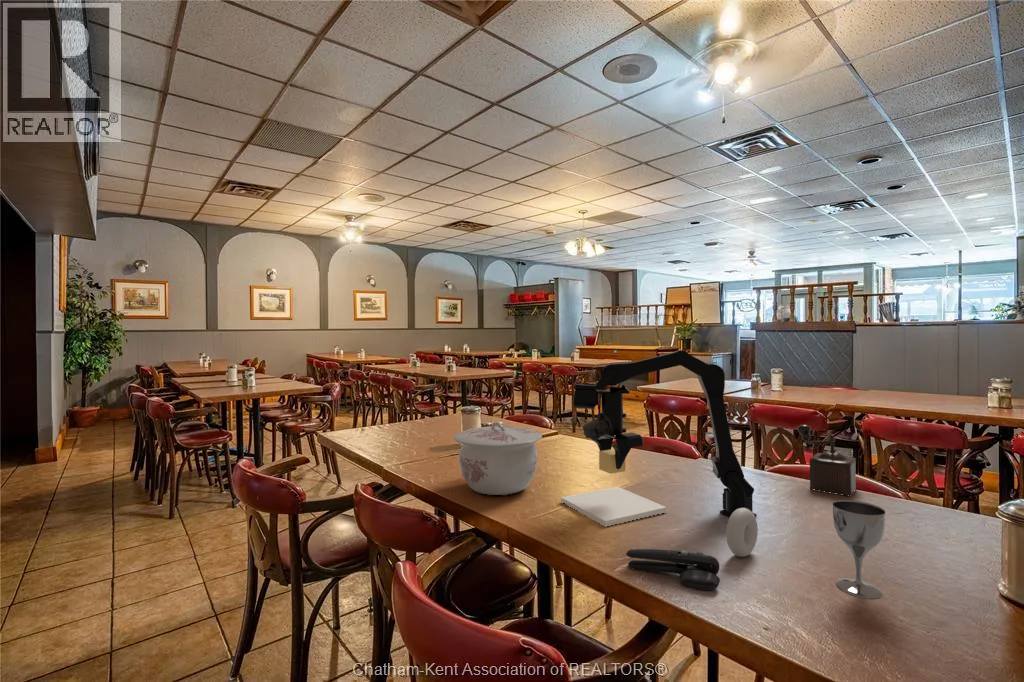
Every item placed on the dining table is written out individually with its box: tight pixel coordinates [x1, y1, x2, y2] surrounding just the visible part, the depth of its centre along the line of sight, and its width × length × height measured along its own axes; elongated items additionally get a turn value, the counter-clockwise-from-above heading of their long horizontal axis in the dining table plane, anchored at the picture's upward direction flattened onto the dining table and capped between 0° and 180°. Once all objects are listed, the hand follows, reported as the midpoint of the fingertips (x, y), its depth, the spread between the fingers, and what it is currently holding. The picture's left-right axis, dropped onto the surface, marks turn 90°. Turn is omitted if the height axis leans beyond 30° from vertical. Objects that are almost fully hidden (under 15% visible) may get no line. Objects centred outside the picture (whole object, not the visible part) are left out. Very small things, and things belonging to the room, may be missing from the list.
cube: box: [598, 448, 626, 475], centre depth 132 cm, size 5×5×5 cm
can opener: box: [625, 548, 721, 591], centre depth 95 cm, size 18×7×6 cm, turn 60°
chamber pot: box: [453, 421, 543, 496], centre depth 150 cm, size 28×28×21 cm
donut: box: [725, 508, 759, 558], centre depth 103 cm, size 10×4×10 cm, turn 131°
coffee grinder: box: [797, 424, 857, 497], centre depth 147 cm, size 16×11×18 cm
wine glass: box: [831, 499, 887, 600], centre depth 89 cm, size 8×8×15 cm
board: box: [560, 486, 667, 528], centre depth 132 cm, size 20×20×2 cm
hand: (612, 466), depth 132 cm, fingers closed on cube, 5 cm apart
